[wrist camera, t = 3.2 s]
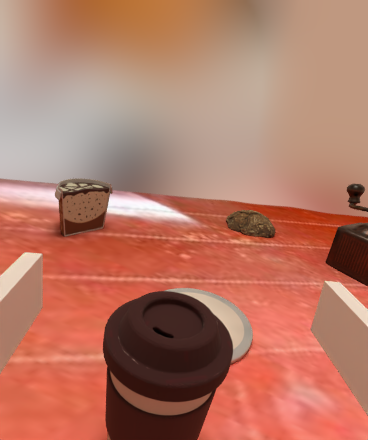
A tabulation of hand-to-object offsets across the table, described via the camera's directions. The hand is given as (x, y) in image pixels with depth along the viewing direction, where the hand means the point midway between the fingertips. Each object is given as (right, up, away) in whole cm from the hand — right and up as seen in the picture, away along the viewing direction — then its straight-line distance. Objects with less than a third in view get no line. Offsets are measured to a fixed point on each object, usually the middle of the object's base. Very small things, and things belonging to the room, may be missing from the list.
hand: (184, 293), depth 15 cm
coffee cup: (-3, -18, +15) cm, 23 cm away
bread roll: (+17, +1, +75) cm, 77 cm away
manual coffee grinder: (+38, -7, +63) cm, 74 cm away
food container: (-23, +2, +56) cm, 61 cm away
